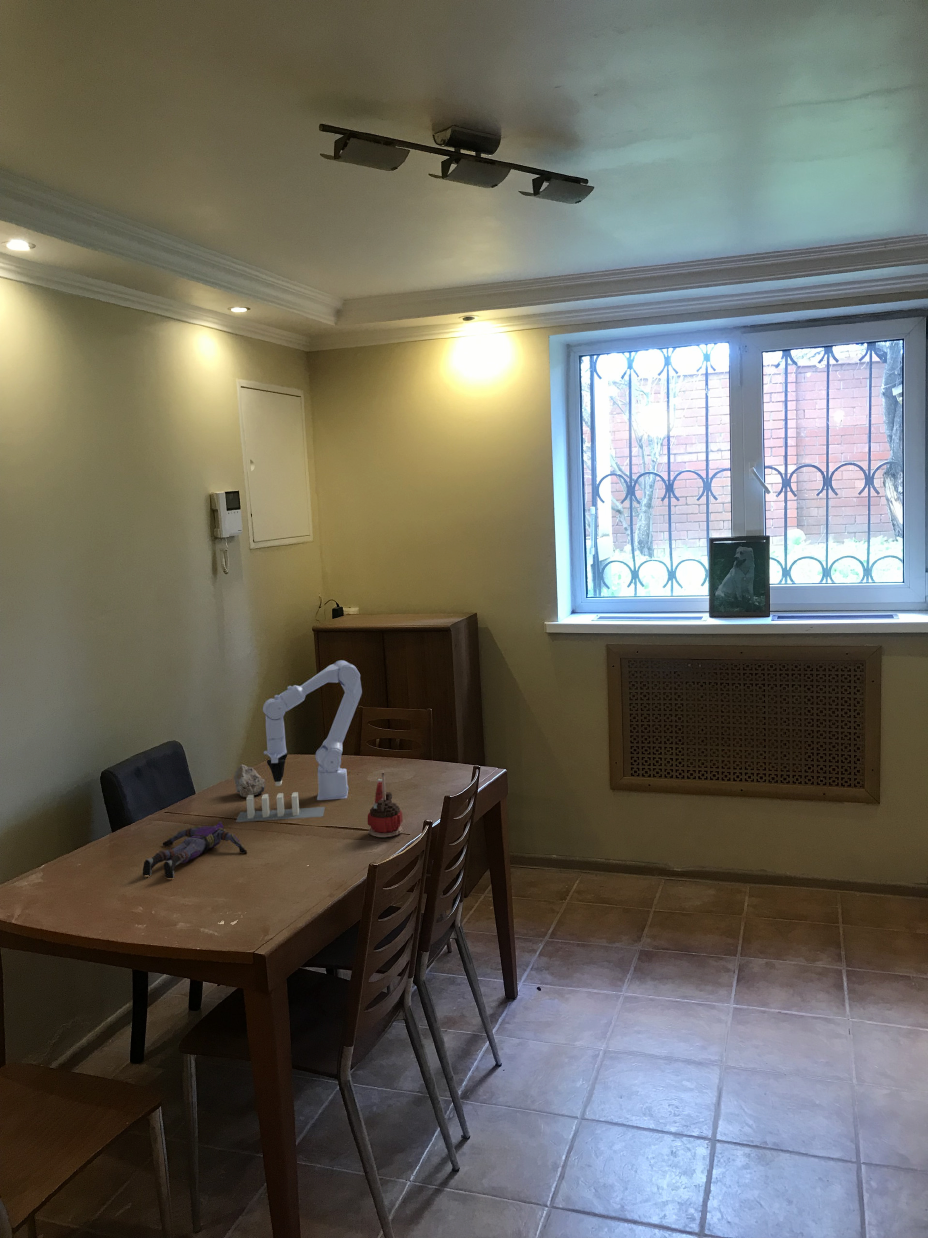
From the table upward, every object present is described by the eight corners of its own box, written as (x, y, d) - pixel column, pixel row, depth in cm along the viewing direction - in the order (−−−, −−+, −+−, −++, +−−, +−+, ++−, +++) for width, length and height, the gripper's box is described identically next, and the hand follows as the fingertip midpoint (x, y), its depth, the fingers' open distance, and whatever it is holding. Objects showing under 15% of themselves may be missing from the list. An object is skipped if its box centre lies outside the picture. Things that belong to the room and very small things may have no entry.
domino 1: (254, 813, 295) (253, 795, 294) (253, 818, 291) (251, 799, 290) (249, 814, 295) (248, 795, 294) (247, 818, 291) (246, 799, 290)
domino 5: (299, 811, 296) (298, 792, 295) (298, 815, 292) (296, 796, 291) (293, 811, 296) (292, 792, 295) (292, 815, 292) (291, 796, 291)
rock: (245, 809, 309) (264, 785, 309) (218, 786, 311) (237, 762, 310) (255, 803, 319) (273, 780, 318) (229, 781, 320) (247, 758, 319)
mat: (324, 808, 299) (324, 807, 299) (323, 817, 290) (322, 816, 290) (240, 813, 297) (240, 812, 297) (235, 822, 288) (235, 822, 288)
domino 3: (282, 782, 306) (280, 763, 305) (280, 785, 302) (279, 767, 301) (277, 782, 306) (275, 764, 305) (275, 786, 302) (274, 767, 301)
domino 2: (269, 813, 295) (268, 794, 295) (268, 817, 291) (266, 798, 291) (264, 813, 295) (263, 794, 294) (262, 817, 291) (261, 798, 290)
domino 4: (284, 812, 296) (283, 793, 295) (283, 816, 292) (281, 797, 291) (279, 812, 296) (277, 793, 295) (277, 816, 292) (276, 797, 291)
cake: (396, 840, 268) (393, 778, 266) (364, 839, 270) (361, 777, 268) (406, 827, 278) (403, 767, 276) (375, 826, 280) (372, 766, 278)
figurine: (204, 888, 243) (265, 843, 271) (201, 865, 242) (263, 822, 270) (114, 878, 252) (182, 835, 280) (112, 855, 251) (180, 815, 279)
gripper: (265, 732, 309) (268, 773, 310) (259, 743, 294) (263, 786, 296) (288, 731, 309) (290, 772, 311) (283, 742, 295) (286, 785, 296)
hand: (278, 779), depth 303 cm, fingers closed on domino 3, 4 cm apart
